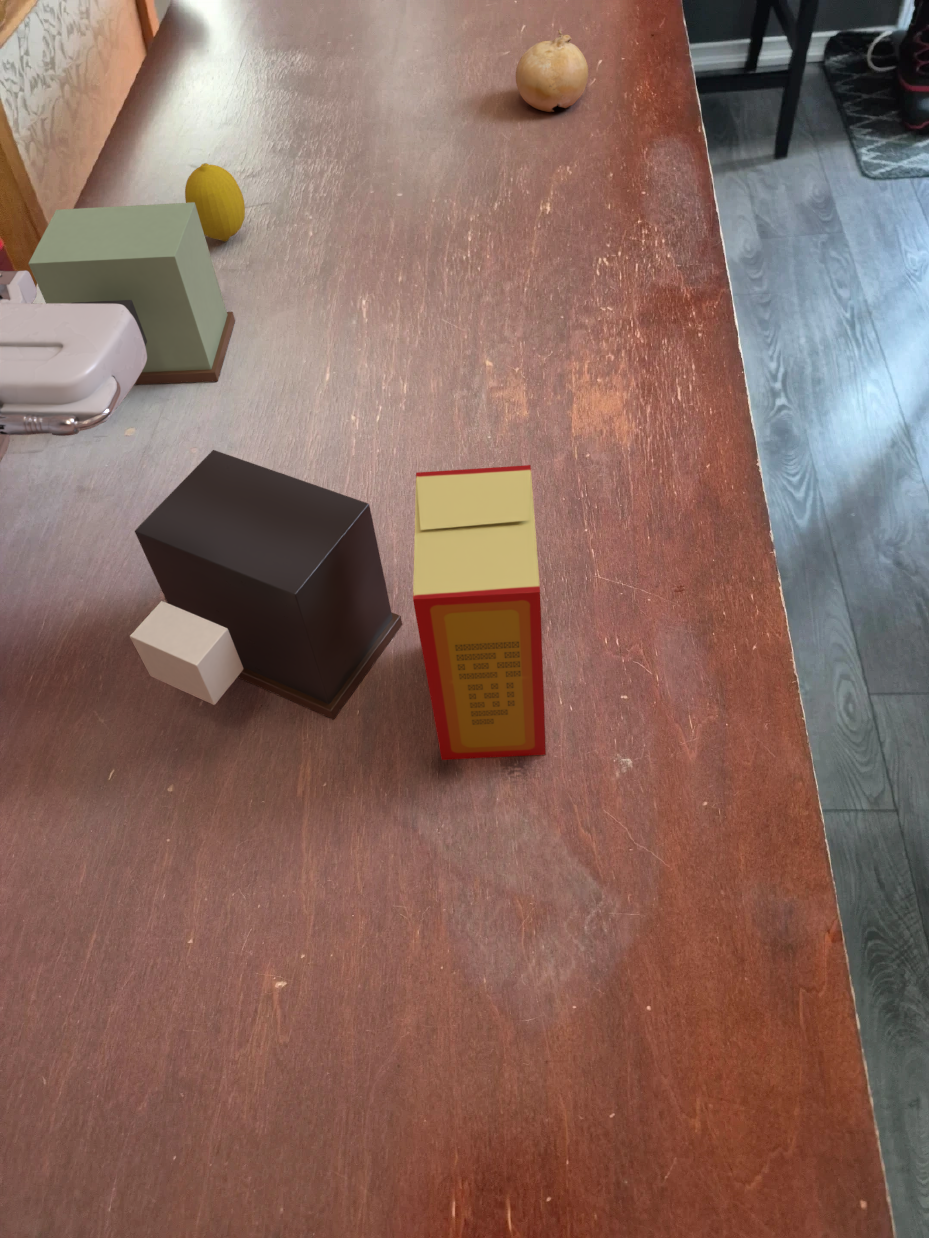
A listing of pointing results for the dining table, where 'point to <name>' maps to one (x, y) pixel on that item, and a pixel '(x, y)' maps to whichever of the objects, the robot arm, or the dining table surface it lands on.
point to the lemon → (216, 201)
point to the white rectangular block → (187, 652)
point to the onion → (552, 74)
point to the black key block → (276, 576)
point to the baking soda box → (480, 610)
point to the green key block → (143, 281)
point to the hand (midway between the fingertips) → (11, 280)
